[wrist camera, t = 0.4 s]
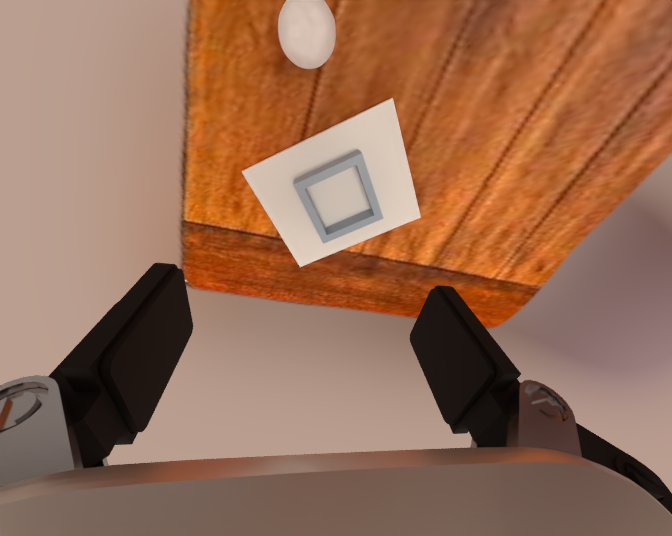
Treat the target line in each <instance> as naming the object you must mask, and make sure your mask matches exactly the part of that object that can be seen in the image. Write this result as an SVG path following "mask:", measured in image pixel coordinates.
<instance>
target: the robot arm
mask: <svg viewBox="0 0 672 536" xmlns="http://www.w3.org/2000/svg"><path fill="white" fill-rule="evenodd" d="M192 330H193V322H192V317H191V312H190V306H189V301H188V295H187V290H186V285H185V279H184V274H183V271H182V269H178V268H177V266H176V265H175V264H165V263H155V264H153V265H152V266H151V268H149V270H148V271H147V272H146V273H145V274H144V275H143V276H142V277H141V278H140V279H139V281H138V282H137V283H136V284H135V285H134V286H133V287H132V288H131V289H130V290H129V291H128V293H127V294H126V295H125V296H124V297H123V298H122V299H121V300H120V301H119V302H117V303H116V304H115V305H114V306H113V307H112V308H111V309H110V310H109V311H108V312H107V314H106V315H105V316H104V317H103V318H102V319H101V320H100V321H99V322H98V323H97V324H96V325H95V327H94V328H93V329H92V330H91V331H90V332H89V333H88V334H87V335H86V336H85V337H84V338H83V339H82V341H81V342H80V343H79V344H78V345H77V346H76V347H75V348H74V349H73V350H72V351H71V352H70V354H69V355H68V356H67V357H66V358H65V359H64V360H63V361H62V362H61V363H60V365H58V367H57V368H56V369H55V370H54V371H53V372H52V373H51V374H50V375H49V376H37V375H36V376H29V377H23V378H20V379H17V380H13V381H10V382H7V383H5V384H3V385H0V536H672V493H671V492H670V491H669V489H668V488H667V487H666V485H665V484H664V483H663V482H662V481H661V479H660V478H659V477H658V476H657V475H656V474H655V473H654V472H653V471H651V470H650V469H649V468H647V467H646V466H645V465H643V464H642V463H641V462H639V461H638V460H636V459H635V458H633V457H632V456H630V455H628V454H626V453H625V452H623V451H622V450H620V449H618V448H617V447H615V446H614V445H612V444H610V443H609V442H607V441H605V440H604V439H602V438H600V437H599V436H597V435H596V434H594V433H592V432H591V431H589V430H587V429H586V428H584V427H582V426H581V425H579V424H577V423H576V421H575V417H574V414H573V411H572V410H571V408H570V407H569V406H568V404H567V402H566V401H565V400H564V399H563V398H562V397H561V396H560V395H558V394H557V393H556V392H555V391H554V390H552V389H551V388H549V387H547V386H546V385H544V384H542V383H539V382H537V381H532V380H525V381H523V382H522V383H520V382H519V381H518V380H517V378H518V377H519V376H520V375H521V373H520V372H519V371H518V370H517V368H516V367H515V366H514V364H513V363H512V362H511V361H510V359H509V358H508V357H507V355H506V354H505V353H504V352H503V350H502V349H501V348H500V346H499V345H498V344H497V343H496V341H495V340H494V339H493V338H492V337H491V335H490V334H489V332H488V331H487V330H486V329H485V327H484V326H483V325H482V323H481V322H480V321H479V320H478V318H477V317H476V316H475V315H474V313H473V312H472V311H471V309H470V308H469V307H468V306H467V304H466V303H465V302H464V301H463V299H462V298H461V297H460V295H459V294H458V293H457V292H456V290H455V289H454V288H453V287H451V286H439V285H438V286H436V287H435V288H434V289H432V290H431V291H430V293H429V295H428V297H427V299H426V301H425V304H424V306H423V308H422V310H421V312H420V314H419V316H418V318H417V321H416V323H415V325H414V327H413V329H412V331H411V334H410V342H411V345H412V347H413V349H414V352H415V354H416V356H417V359H418V360H419V363H420V366H421V368H422V370H423V372H424V375H425V377H426V379H427V382H428V384H429V386H430V389H431V391H432V393H433V396H434V398H435V400H436V403H437V405H438V407H439V409H440V412H441V414H442V416H443V418H444V420H445V422H446V423H447V424H449V425H450V428H451V430H452V432H453V433H454V434H458V433H467V432H468V431H469V432H470V434H471V436H472V441H471V447H470V448H450V449H426V450H425V449H424V450H399V451H375V452H353V453H329V454H306V455H285V456H264V457H245V458H244V457H243V458H223V459H203V460H184V461H169V462H155V463H139V464H124V465H111V466H108V462H107V458H106V457H107V456H109V454H110V452H111V451H112V449H113V447H114V445H121V444H123V445H124V444H132V443H133V441H134V439H135V437H136V435H137V433H138V432H142V431H144V430H145V428H146V427H147V425H148V423H149V421H150V419H151V417H152V415H153V413H154V411H155V408H156V406H157V404H158V402H159V400H160V398H161V396H162V394H163V392H164V390H165V388H166V386H167V384H168V382H169V380H170V377H171V375H172V373H173V371H174V369H175V367H176V365H177V363H178V361H179V359H180V357H181V355H182V353H183V351H184V348H185V346H186V344H187V342H188V340H189V338H190V336H191V334H192Z"/></svg>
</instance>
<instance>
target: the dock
mask: <svg viewBox="0 0 672 536" xmlns="http://www.w3.org/2000/svg"><path fill="white" fill-rule="evenodd" d="M242 173H243V175H244V177H245V178H246V180H247V182H248V183H249V185H250V186H251V188H252V190H253V191H254V193H255V195H256V196H257V198H258V199H259V201H260V203H261V204H262V206H263V208H264V209H265V211H266V212H267V214H268V216H269V217H270V219H271V221H272V222H273V224H274V226H275V227H276V229H277V230H278V232H279V234H280V235H281V237H282V239H283V240H284V242H285V243H286V245H287V247H288V248H289V250H290V252H291V253H292V255H293V256H294V258H295V260H296V261H297V263H298V265H299V266H300V267H301V266H304V265H306V264H309V263H311V262H313V261H316V260H318V259H321V258H323V257H326V256H328V255H330V254H333V253H335V252H338V251H340V250H343V249H345V248H347V247H350V246H352V245H355V244H357V243H360V242H362V241H364V240H367V239H369V238H372V237H374V236H377V235H379V234H381V233H384V232H386V231H389V230H391V229H394V228H396V227H398V226H401V225H403V224H406V223H408V222H411V221H413V220H415V219H418V218H420V217H421V216H420V212H419V208H418V204H417V199H416V195H415V191H414V186H413V182H412V178H411V174H410V169H409V165H408V161H407V156H406V152H405V148H404V144H403V139H402V135H401V131H400V127H399V122H398V118H397V114H396V109H395V105H394V101H393V98H389V99H387V100H385V101H383V102H381V103H379V104H377V105H375V106H373V107H371V108H369V109H367V110H365V111H363V112H360V113H358V114H356V115H354V116H352V117H350V118H348V119H346V120H344V121H342V122H340V123H338V124H336V125H334V126H332V127H330V128H328V129H326V130H324V131H322V132H319V133H317V134H315V135H313V136H311V137H309V138H307V139H305V140H303V141H301V142H299V143H297V144H295V145H293V146H291V147H289V148H287V149H285V150H283V151H280V152H278V153H276V154H274V155H272V156H270V157H268V158H266V159H264V160H262V161H260V162H258V163H256V164H254V165H252V166H250V167H248V168H246V169H244V170H242Z"/></svg>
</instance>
